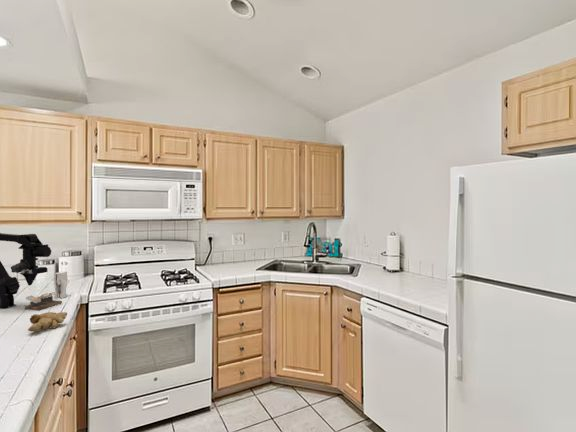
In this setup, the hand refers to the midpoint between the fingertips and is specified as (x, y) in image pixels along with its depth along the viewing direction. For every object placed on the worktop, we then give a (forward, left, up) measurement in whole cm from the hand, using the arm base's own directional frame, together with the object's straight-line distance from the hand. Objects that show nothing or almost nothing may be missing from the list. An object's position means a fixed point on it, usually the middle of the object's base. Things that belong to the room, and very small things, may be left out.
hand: (29, 285), depth 180 cm
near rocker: (+4, -1, -7) cm, 8 cm away
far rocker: (+4, +8, -7) cm, 11 cm away
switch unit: (+6, +3, -12) cm, 14 cm away
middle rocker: (+4, +3, -7) cm, 9 cm away
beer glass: (-2, +20, -12) cm, 24 cm away
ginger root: (+38, -21, -12) cm, 45 cm away
